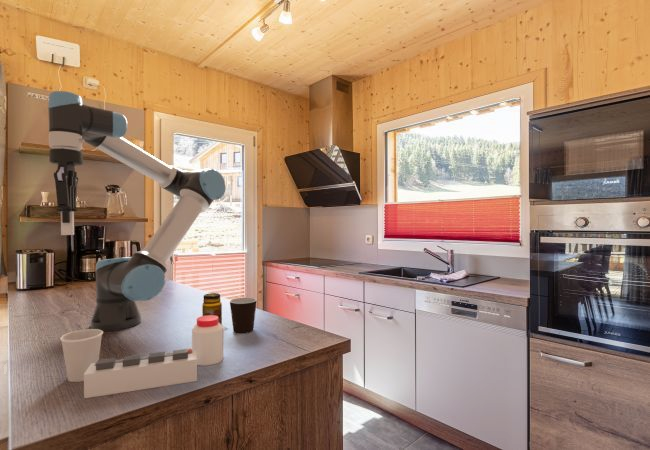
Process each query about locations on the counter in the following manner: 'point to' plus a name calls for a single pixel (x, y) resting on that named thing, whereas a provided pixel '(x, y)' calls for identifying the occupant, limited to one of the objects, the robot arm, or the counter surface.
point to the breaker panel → (140, 372)
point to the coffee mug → (243, 314)
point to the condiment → (212, 306)
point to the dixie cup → (80, 351)
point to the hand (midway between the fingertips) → (67, 234)
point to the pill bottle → (208, 340)
